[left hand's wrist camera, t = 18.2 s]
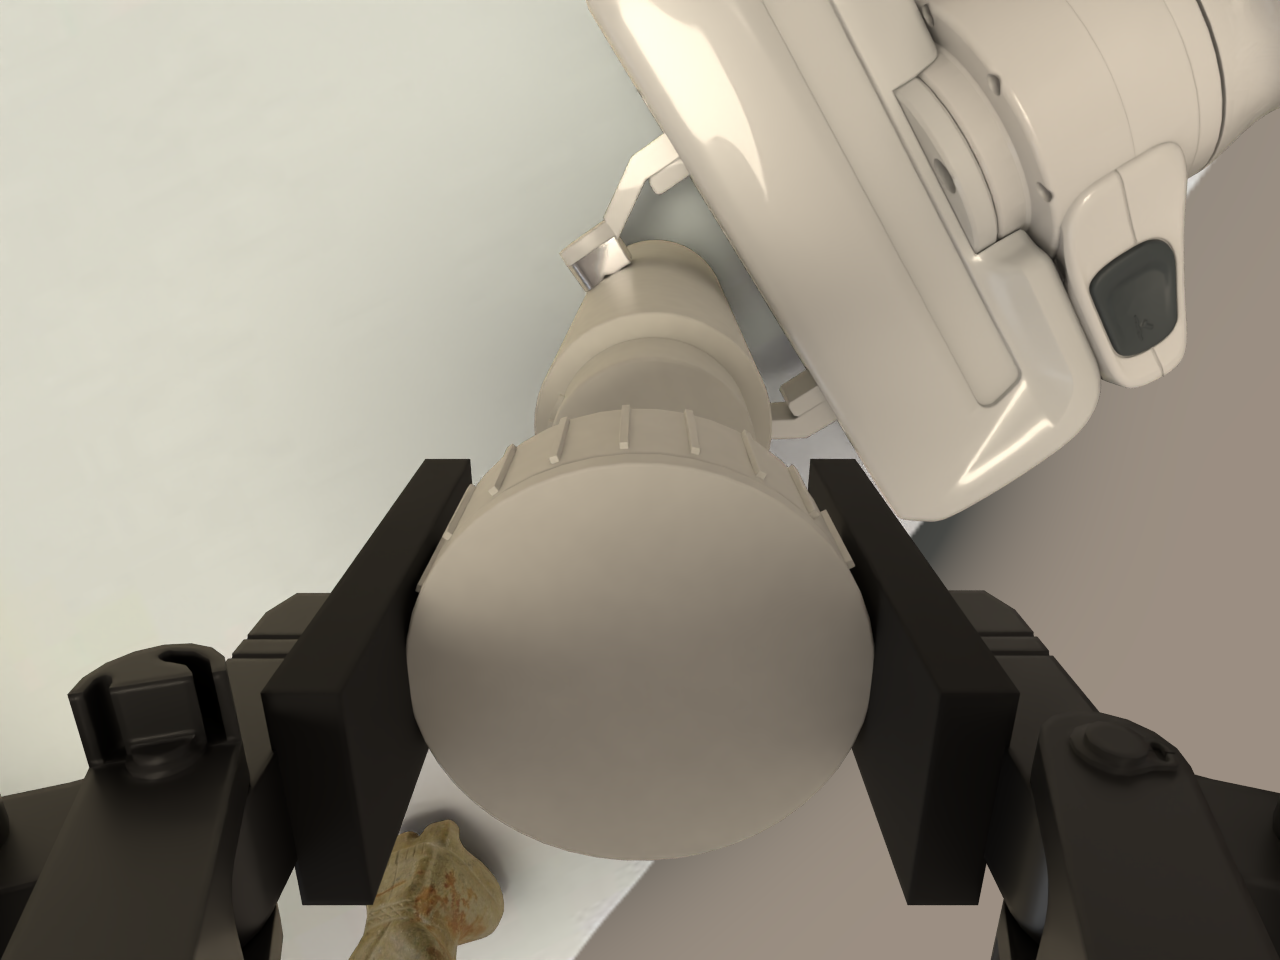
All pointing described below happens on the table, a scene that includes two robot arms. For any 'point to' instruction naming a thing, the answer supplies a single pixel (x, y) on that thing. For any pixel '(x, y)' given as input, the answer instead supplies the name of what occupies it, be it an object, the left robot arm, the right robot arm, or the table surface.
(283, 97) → the table surface
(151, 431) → the table surface
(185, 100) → the table surface
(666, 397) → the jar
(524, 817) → the lid
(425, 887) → the sculpture
